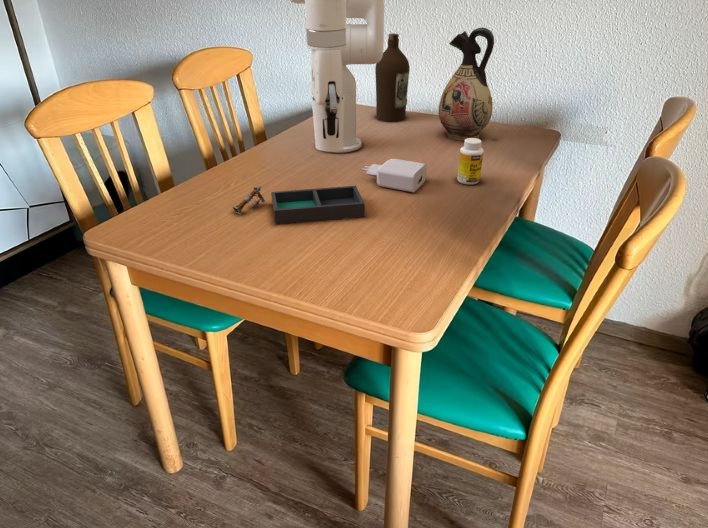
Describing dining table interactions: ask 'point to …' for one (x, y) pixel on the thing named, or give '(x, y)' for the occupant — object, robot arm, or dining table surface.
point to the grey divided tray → (317, 204)
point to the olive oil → (392, 82)
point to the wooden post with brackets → (248, 199)
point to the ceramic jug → (467, 90)
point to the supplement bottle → (470, 162)
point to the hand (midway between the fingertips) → (328, 133)
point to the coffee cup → (318, 115)
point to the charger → (399, 174)
